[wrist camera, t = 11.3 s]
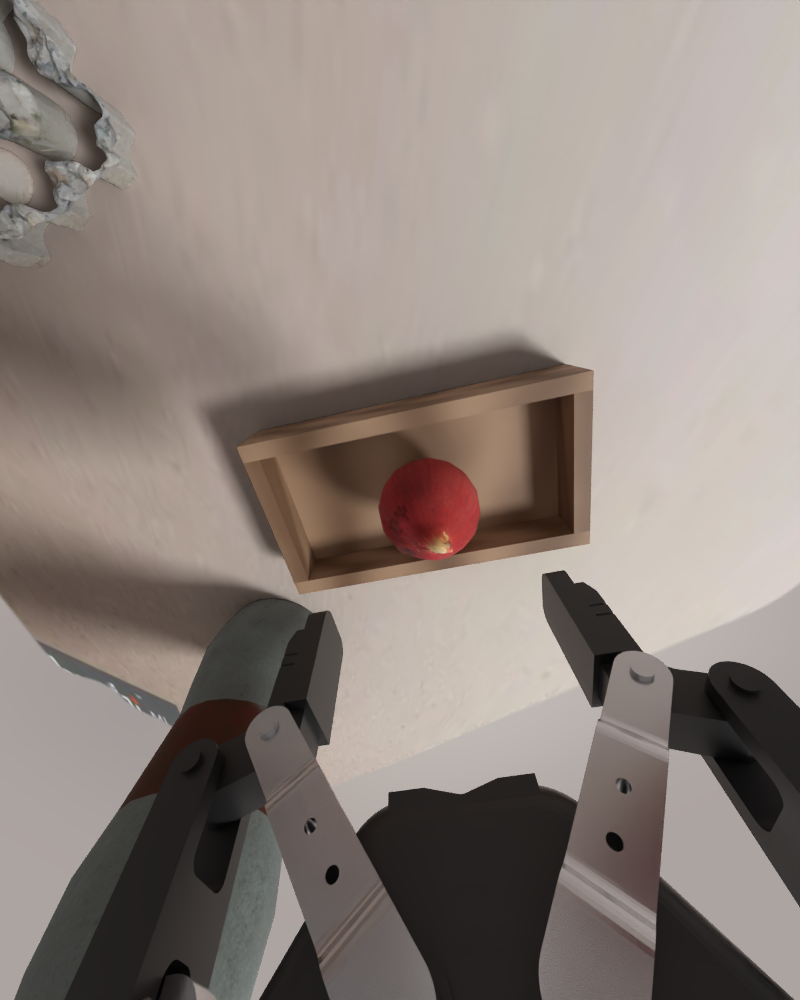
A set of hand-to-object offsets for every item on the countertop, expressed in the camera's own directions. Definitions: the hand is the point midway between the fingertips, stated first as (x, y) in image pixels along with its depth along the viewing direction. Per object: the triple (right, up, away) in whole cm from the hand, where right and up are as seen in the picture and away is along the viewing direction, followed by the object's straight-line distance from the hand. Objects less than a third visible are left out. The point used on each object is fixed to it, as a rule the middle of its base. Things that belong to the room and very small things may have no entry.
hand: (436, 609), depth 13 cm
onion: (0, +5, +11) cm, 12 cm away
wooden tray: (0, +6, +12) cm, 13 cm away
